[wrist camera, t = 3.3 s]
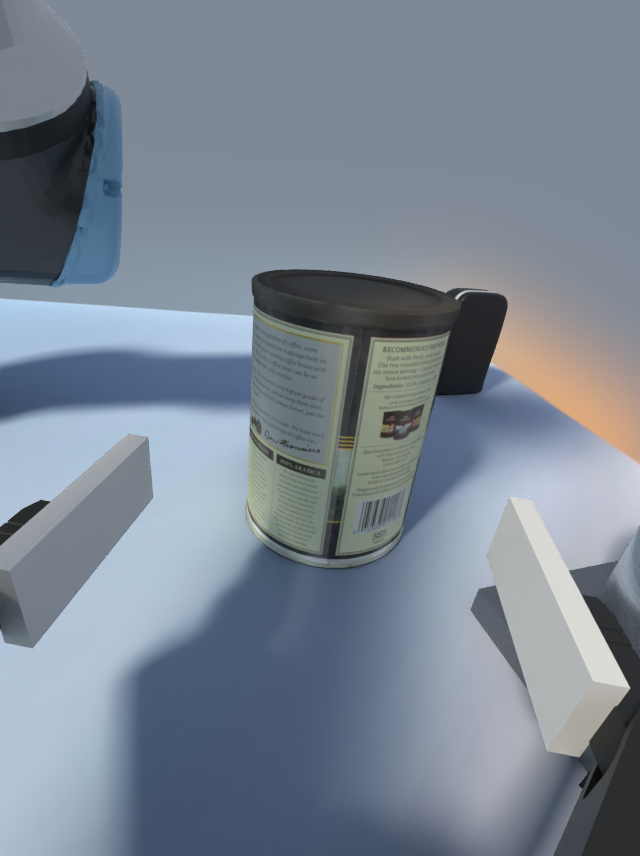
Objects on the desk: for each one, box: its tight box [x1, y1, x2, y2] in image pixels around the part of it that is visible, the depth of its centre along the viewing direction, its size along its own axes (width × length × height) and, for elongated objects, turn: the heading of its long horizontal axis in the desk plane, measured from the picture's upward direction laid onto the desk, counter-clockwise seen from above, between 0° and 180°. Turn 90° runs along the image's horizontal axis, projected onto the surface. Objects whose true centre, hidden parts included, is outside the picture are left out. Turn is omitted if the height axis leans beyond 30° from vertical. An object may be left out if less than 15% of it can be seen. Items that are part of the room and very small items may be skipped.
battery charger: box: [436, 288, 508, 394], centre depth 48 cm, size 7×4×11 cm, turn 111°
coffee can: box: [246, 270, 461, 568], centre depth 25 cm, size 10×10×14 cm
